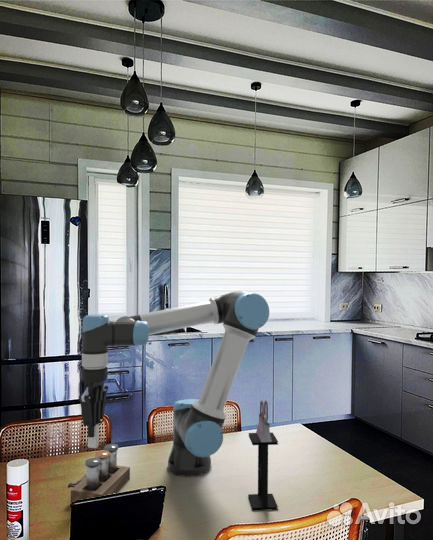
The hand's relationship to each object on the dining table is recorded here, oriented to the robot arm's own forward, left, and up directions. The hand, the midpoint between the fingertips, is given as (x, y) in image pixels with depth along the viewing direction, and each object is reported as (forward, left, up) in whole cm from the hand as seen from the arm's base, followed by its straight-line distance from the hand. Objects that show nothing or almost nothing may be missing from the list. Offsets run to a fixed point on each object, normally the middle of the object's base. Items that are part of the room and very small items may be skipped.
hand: (93, 446), depth 122 cm
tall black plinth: (-49, -12, -16) cm, 53 cm away
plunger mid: (0, -6, -12) cm, 13 cm away
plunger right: (0, -11, -12) cm, 16 cm away
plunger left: (0, 0, -12) cm, 12 cm away
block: (0, -6, -16) cm, 17 cm away
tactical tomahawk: (+9, -16, -16) cm, 24 cm away
